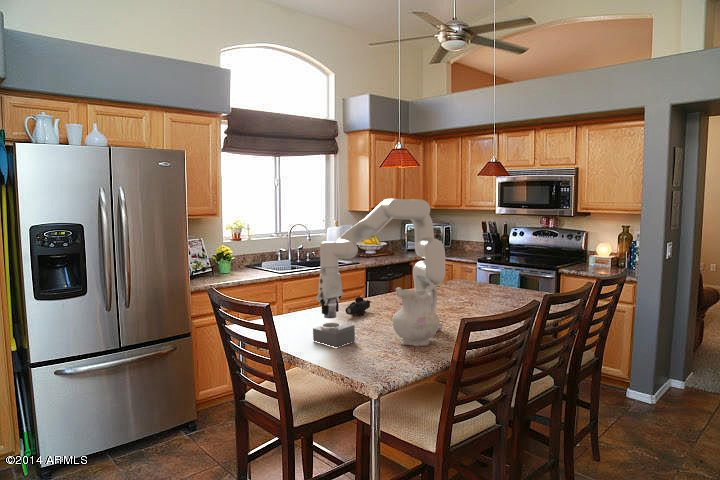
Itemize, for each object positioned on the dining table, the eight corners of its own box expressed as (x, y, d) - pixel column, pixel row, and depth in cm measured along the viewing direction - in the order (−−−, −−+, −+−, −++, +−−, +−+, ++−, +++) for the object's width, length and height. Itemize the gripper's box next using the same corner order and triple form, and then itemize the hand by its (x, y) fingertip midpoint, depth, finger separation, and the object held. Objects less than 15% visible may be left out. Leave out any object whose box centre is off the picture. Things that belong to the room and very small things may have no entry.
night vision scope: (349, 323, 247) (336, 309, 251) (368, 316, 262) (356, 302, 265) (357, 313, 244) (344, 298, 247) (376, 306, 258) (364, 292, 262)
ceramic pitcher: (414, 334, 222) (409, 279, 221) (452, 338, 210) (448, 280, 209) (385, 347, 206) (380, 288, 204) (425, 352, 193) (420, 289, 192)
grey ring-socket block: (354, 342, 209) (354, 323, 208) (336, 348, 201) (335, 329, 200) (331, 336, 219) (331, 318, 218) (313, 342, 211) (312, 323, 210)
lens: (339, 316, 210) (339, 297, 209) (330, 319, 206) (329, 300, 205) (330, 314, 213) (330, 296, 213) (321, 317, 209) (320, 298, 209)
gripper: (320, 274, 199) (321, 318, 201) (350, 269, 211) (350, 310, 213) (308, 272, 204) (309, 315, 206) (337, 267, 216) (338, 307, 218)
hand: (330, 312), depth 209 cm, fingers closed on lens, 5 cm apart
